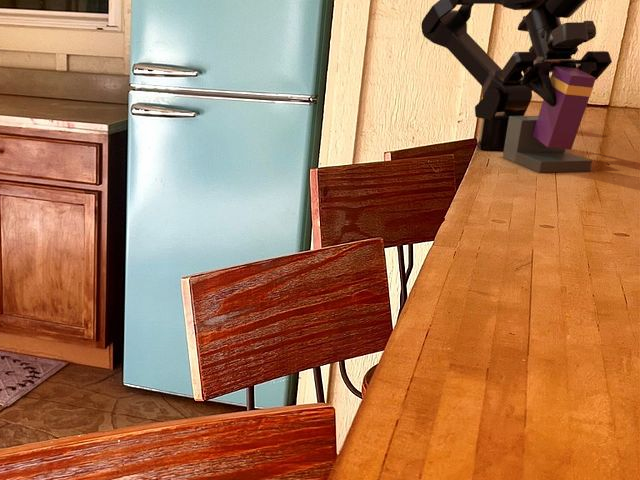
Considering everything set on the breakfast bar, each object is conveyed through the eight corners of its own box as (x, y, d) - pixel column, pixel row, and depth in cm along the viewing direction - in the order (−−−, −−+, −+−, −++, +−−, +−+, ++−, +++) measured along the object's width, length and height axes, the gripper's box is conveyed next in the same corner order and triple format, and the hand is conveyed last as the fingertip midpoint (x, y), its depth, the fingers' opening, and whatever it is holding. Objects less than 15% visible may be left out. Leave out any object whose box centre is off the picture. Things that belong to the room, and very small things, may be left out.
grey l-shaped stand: (502, 157, 175) (509, 116, 172) (549, 156, 177) (557, 115, 173) (539, 172, 163) (547, 128, 159) (589, 171, 164) (598, 127, 161)
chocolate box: (547, 147, 162) (571, 75, 156) (531, 135, 169) (553, 65, 162) (571, 149, 163) (596, 78, 156) (554, 137, 169) (577, 68, 163)
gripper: (520, 4, 158) (541, 76, 153) (617, 4, 160) (641, 75, 155) (492, 46, 168) (511, 115, 163) (584, 45, 171) (605, 114, 165)
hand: (567, 104), depth 161 cm, fingers closed on chocolate box, 5 cm apart
